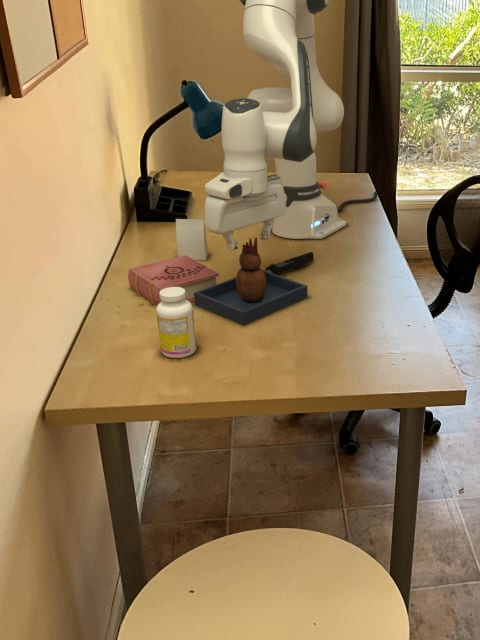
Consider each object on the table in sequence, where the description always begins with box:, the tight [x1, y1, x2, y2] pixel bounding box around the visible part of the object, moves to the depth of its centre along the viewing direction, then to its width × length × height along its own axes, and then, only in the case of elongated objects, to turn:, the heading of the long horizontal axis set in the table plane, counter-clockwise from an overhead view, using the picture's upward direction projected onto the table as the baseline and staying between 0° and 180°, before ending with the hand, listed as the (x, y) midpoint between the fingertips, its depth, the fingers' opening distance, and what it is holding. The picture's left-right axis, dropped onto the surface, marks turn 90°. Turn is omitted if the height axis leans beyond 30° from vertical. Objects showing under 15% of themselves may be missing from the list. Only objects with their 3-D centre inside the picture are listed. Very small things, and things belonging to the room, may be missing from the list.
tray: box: [194, 268, 309, 326], centre depth 168 cm, size 20×16×3 cm
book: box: [127, 255, 220, 307], centre depth 171 cm, size 14×15×5 cm
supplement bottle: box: [155, 287, 197, 359], centre depth 144 cm, size 7×7×13 cm
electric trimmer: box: [264, 251, 315, 276], centre depth 186 cm, size 4×16×3 cm, turn 142°
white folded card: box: [175, 218, 209, 261], centre depth 189 cm, size 4×7×10 cm, turn 95°
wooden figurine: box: [235, 237, 266, 302], centre depth 165 cm, size 7×6×15 cm
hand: (249, 244), depth 163 cm, fingers open, 8 cm apart
